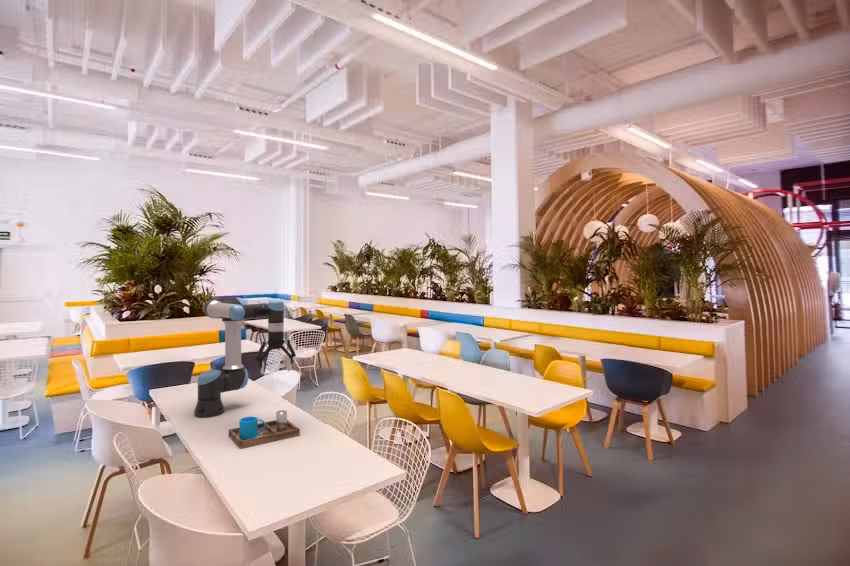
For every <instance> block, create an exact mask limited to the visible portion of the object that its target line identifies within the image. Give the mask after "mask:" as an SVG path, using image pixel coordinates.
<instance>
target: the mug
mask: <svg viewBox="0 0 850 566" xmlns="http://www.w3.org/2000/svg"><path fill="white" fill-rule="evenodd" d="M238 422H239V426H238V428H239V438H240V439H253V438H255V437H257V436H258V434H259V433H261V432H262V431H264V429H265V427H266V424H265V422H266V421H264V419H258V417H256V416H244V417H242V418H240V419H239V421H238ZM259 422H260V423H263V424H264V427H263V429H262V430H261V431H259V432H258V424H259Z"/></svg>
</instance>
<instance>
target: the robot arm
mask: <svg viewBox="0 0 850 566" xmlns="http://www.w3.org/2000/svg"><path fill="white" fill-rule="evenodd" d="M203 312H204V315H206V316H207V317H208V318H210V319H216V320H217V319H221V322H223V324H224V339H225V341H224V353H225V354H224V355H225V357H224V358H225V360H224V361H225V364H224V366H223V367H222V371H221V369H212V370H208V371H203V372H201V373H200V374H199V375H198V376H197V384H196V385H197V402H196V405H195V408H194V412H193V415H194V417H196V418H212V417H216V416H220V415H222V414H224V413H225V406H224V404H223V401H222V398H221V395H222V393H226V392H233V391H238V390H242V389H244V388H245V387H246V386H247V385H248V382H249V372H248V370H247V369H246V368H245V366H244V364H242V323H243V322H244V320H254V319H267V330H268V332H267V336H268V337H267V339H268V340H267V341H264V340H262V341H261V344H260V346H259V350H258V351H257V354H256V355H255V357H254V360H255V361H257V362H258V368H260V374H261V375H265V361H264V359H265V358H266V357H267V356H268V354H269V353H270V352H271V351H272V350H280V349H281V350H282V351H283V352H284V353H285V354H286V356H287V358H286V359H287V360H286V362H287V365H286V366H287V367H286V369H287V370H286V371H288V372H291V368H292V367H291V365H292V364H293V359H294V357H297V354H296V352H295V350H294V349H293V347H292V344H291V340H290V339H289V338H286V339H285V338H284V337H285V336H284V333H285V332H284V330H285V329H284V328H285V327H284V325H285V321H284V320H285V319H284V316H285V307H284V301H282V300H268V303H266V302H264V303H263V302H260V303H253V304H252V303H250V304H247V302H246V300H245V299H244V298H242V297H220V298H219V297H216V298H212V299H210V300H208V301H207V302H206V303H205V304H204V306H203ZM284 344H286V347H287V348H288V349H287V348H286V347H285V346H284ZM266 346H267V347H266ZM265 348H266V349H265ZM264 350H265V351H264ZM288 350H289V351H288Z"/></svg>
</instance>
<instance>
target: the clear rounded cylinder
mask: <svg viewBox="0 0 850 566" xmlns="http://www.w3.org/2000/svg"><path fill="white" fill-rule="evenodd" d="M275 413H276V417H275V418H276V419H275V420H276V431H279V432H282V431H286V430H287V420H288V411H287V410H284V409H283V410H277V411H276V412H275Z"/></svg>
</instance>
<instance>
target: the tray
mask: <svg viewBox="0 0 850 566" xmlns="http://www.w3.org/2000/svg"><path fill="white" fill-rule="evenodd" d="M264 422H265V424H266V427H265V429H264V431H262V432H261V433H259V434H258V436H257V437H255V438H253V439H240V438H239V427H235V428H229V429H228V437H229V438H230V439H231V440H232V441H233V443H234V444H235V445H236V446H237V447H238V448H239V449H240V450H241V449H245V448H249V447H250V448H251V447H255V446H258V445H262V444H268V443H271V442H276V441H281V440H284V439H290V438H294V437H298V436H301V429H300V428H299V427H298V426H296V425H295V424H294V423H292V422H291V421H290V420H288V419H287V430H286V431H282V432H279V431H276V419H274V420H271V421H264ZM263 427H264V424H263V423H262V422H258V432H259V431H261V430H262V429H263Z"/></svg>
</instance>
